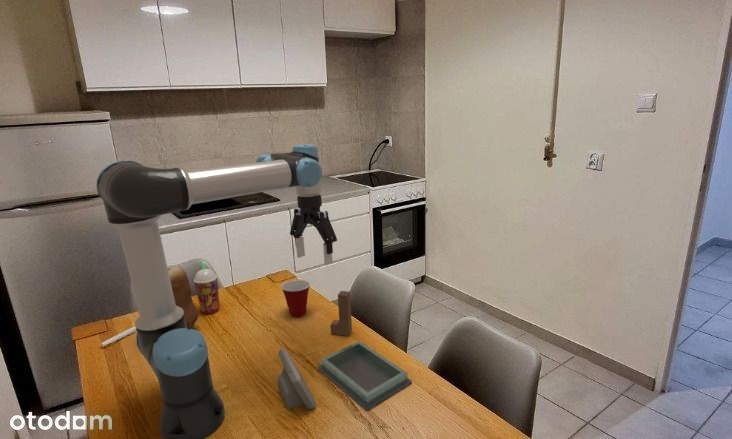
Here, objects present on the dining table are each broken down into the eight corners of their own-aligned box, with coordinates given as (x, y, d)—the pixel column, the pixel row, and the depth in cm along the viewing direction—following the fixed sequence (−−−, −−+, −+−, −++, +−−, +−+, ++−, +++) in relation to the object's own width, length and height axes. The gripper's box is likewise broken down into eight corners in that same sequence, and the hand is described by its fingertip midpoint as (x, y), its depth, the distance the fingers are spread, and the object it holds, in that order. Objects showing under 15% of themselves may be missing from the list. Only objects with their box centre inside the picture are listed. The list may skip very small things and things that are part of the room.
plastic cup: (315, 306, 163) (313, 277, 160) (309, 320, 153) (306, 290, 149) (288, 306, 164) (285, 277, 161) (280, 320, 154) (276, 290, 150)
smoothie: (199, 307, 166) (191, 260, 160) (222, 304, 168) (215, 256, 162) (198, 318, 158) (190, 268, 152) (222, 313, 160) (214, 264, 154)
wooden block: (352, 331, 145) (350, 291, 141) (349, 336, 142) (346, 295, 138) (334, 329, 147) (331, 289, 142) (330, 334, 144) (328, 294, 139)
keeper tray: (367, 411, 108) (366, 399, 107) (317, 369, 125) (317, 359, 124) (411, 383, 118) (411, 372, 117) (360, 348, 135) (359, 338, 134)
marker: (149, 322, 157) (148, 317, 156) (153, 324, 156) (152, 318, 155) (100, 348, 142) (99, 342, 141) (104, 349, 141) (102, 343, 140)
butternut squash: (158, 331, 150) (145, 265, 143) (198, 320, 156) (188, 257, 149) (160, 350, 138) (146, 280, 131) (203, 338, 144) (192, 270, 137)
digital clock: (317, 412, 109) (314, 376, 106) (281, 419, 107) (277, 383, 104) (309, 373, 124) (306, 341, 121) (278, 379, 122) (274, 347, 119)
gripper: (345, 195, 126) (350, 263, 131) (293, 191, 143) (299, 251, 147) (326, 199, 121) (332, 270, 125) (275, 194, 138) (281, 256, 142)
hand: (314, 260), depth 136 cm, fingers open, 13 cm apart
